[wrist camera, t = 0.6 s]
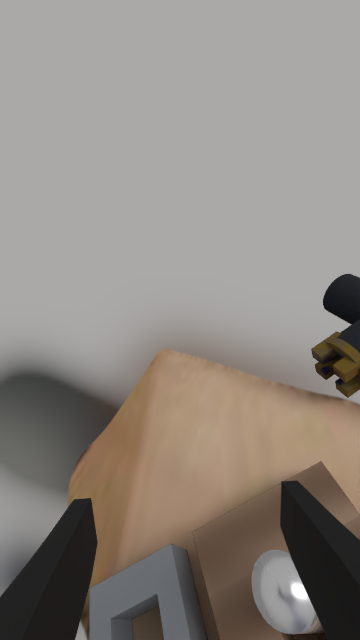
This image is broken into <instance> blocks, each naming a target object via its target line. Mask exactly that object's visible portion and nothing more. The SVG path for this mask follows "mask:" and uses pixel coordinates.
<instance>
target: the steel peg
mask: <svg viewBox="0 0 360 640" xmlns="http://www.w3.org/2000/svg"><path fill="white" fill-rule="evenodd" d="M252 592H253V597H254V600H255V603H256V605H257V608H258V610H259V612H260V613H261V615H262V616H263V618H264V619H265V620H266V622H267V623H268V624H269V625H270V626H272V627H273V628H274V629H276V630H278V631H280V632H282V633H286V634H310V633H323V632H324V630H323V628H322V626H321V623H320V621H319V619H318V617H317V615H316V612H315V610H314V608H313V606H312V604H311V601H310V599H309V597H308V595H307V593H306V590H305V588H304V586H303V584H302V581H301V579H300V577H299V575H298V572H297V570H296V568H295V566H294V563H293V561H292V559H291V556H290V554H289V553H287V552H284V551H281V550H270V551H267V552H265V553H264V554H262V555H261V556H260V557H259V558H258V560H257V561H256V563H255V565H254V568H253V572H252Z"/></svg>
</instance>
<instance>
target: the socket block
mask: <svg viewBox="0 0 360 640" xmlns="http://www.w3.org/2000/svg"><path fill="white" fill-rule="evenodd" d="M295 480H297V481H298V482H299V483H301V484H302V485H303V486H304V487H305V488H306V489H307V490H308V491H309V492H310V493H311V494H312V495H313V496H314V497H315V498H316V499H317V500H318V501H319V502H320V503H321V504H322V505H323V506H324V507H325V508H326V509H327V510H328V511H329V512H330V513H331V514H332V515H333V516H334V517H335V518H336V519H338V520H339V521H340V522H341V523H342V524H343V525H344V526H345V527H346V528H347V529H348V530H349V531H351V532H352V533H353V534H354V535H355V536H356V537H357V538H358V539H359V540H360V514H359V513H358V511H357V510H356V508H355V507H354V506H353V504H352V503H351V502H350V500H349V499H348V497H347V496H346V495H345V493H344V492H343V491H342V489H341V488H340V486H339V485H338V484H337V482H336V481H335V479H334V478H333V477H332V475H331V474H330V473H329V471H328V470H327V468H326V467H325V466H324V464H323V463H322V462H319V463H317V464H315V465H313V466H311V467H310V468H308V469H306V470H304V471H302V472H301V473H299V474H297V475H295V476H293V477H291V478H290V479H288V480H286V481H295ZM280 510H281V484H279V485H277V486H275V487H273V488H271V489H270V490H268V491H266V492H264V493H262V494H261V495H259V496H257V497H255V498H253V499H252V500H250V501H248V502H246V503H244V504H242V505H241V506H239V507H237V508H235V509H233V510H232V511H230V512H228V513H226V514H224V515H222V516H221V517H219V518H217V519H215V520H213V521H212V522H210V523H208V524H206V525H204V526H202V527H201V528H199V529H197V530H195V531H193V532H192V535H193V538H194V542H195V546H196V550H197V554H198V557H199V561H200V565H201V569H202V573H203V577H204V580H205V584H206V588H207V592H208V596H209V599H210V603H211V607H212V611H213V615H214V619H215V622H216V626H217V630H218V634H219V638H220V640H294V639H293V636H292V634H286V633H282V632H280V631H278V630H276V629H274V628H273V627H272V626H270V625H269V624H268V623H267V622H266V620H265V619H264V618H263V616H262V615H261V613H260V612H259V610H258V608H257V605H256V603H255V600H254V597H253V592H252V572H253V568H254V565H255V563H256V561H257V560H258V558H259V557H260V556H261V555H262V554H264V553H265V552H267V551H270V550H281V551H284V552H287V553H289V550H288V548H287V545H286V542H285V539H284V536H283V533H282V530H281V527H280ZM289 554H290V553H289Z"/></svg>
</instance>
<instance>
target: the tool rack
mask: <svg viewBox="0 0 360 640" xmlns="http://www.w3.org/2000/svg"><path fill="white" fill-rule="evenodd" d="M158 605H159V608H160V615H161V622H162V628H163V635H164V640H208V638H207V634H206V630H205V625H204V621H203V617H202V613H201V609H200V604H199V600H198V596H197V592H196V588H195V583H194V579H193V575H192V571H191V567H190V562H189V558H188V554H187V550H185V549H182V548H180V547H178V546H175V545H173V544H170V545H168V546H166V547H164V548H162V549H161V550H159V551H157V552H155V553H153V554H152V555H150V556H148V557H146V558H144V559H143V560H141V561H139V562H137V563H135V564H133V565H132V566H130V567H128V568H126V569H124V570H123V571H121V572H119V573H117V574H115V575H113V576H112V577H110V578H108V579H106V580H104V581H103V582H101V583H99V584H97V585H95V586H93V587H92V588H90V640H134V638H133V627H132V619H134V618H136V617H138V616H140V615H141V614H143V613H145V612H147V611H149V610H151V609H153V608H154V607H156V606H158Z"/></svg>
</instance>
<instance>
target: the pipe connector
mask: <svg viewBox="0 0 360 640" xmlns="http://www.w3.org/2000/svg"><path fill="white" fill-rule="evenodd" d="M323 305H324V308H325V309H326V310H327V311H329V312H330V313H332V314H334V315H336V316H338V317H339V318H341V319H343V320H345V321H347V322H348V323H350V324H352V325H351V326H349V327H348V328H347V329H345V330H344V331H342V332H341V333H339V332H335V333H334V334H332V335H331V336H330V337H328V338H327V339H325V340H324V341H322V342H321V343H319V344H318V345H316V346H315V347H314V348H312V349H311V350H312V355H313V358H315V359H316V360H317V361H319V362H318V363H317V364H315V368H316V372H317V373H318V374H319V375H321V376H322V377H323V378H324V379H326V380H327V379H328V378H330V377H331V376H332V375H334V374H335V375H337V376H338V377H339V379H338V380H336V382H335V383H336V388H337V389H338V390H339V391H340V392H341V393H343V394H344V395H345V396H346V397H347V398H348V397H350V396H351V395H352V394H354V393H355V392H357V391H358V390H360V278H359V277H356V276H353V275H351V274H345V275H342V276H340V277H338V278H337V279H335V280H334V281H333V282H332V283H331V285H330V286H329V287H328V289H327V290H326V293H325V295H324V299H323Z"/></svg>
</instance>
